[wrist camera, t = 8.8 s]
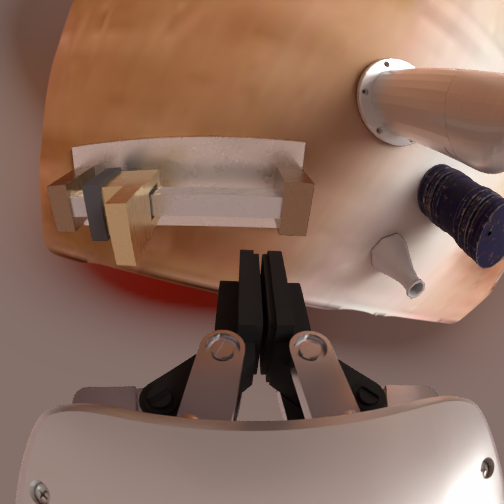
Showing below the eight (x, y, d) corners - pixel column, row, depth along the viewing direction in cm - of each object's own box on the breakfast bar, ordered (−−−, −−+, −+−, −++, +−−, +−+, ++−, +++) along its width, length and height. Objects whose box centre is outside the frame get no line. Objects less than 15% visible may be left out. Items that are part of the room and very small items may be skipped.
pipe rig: (303, 141, 32) (323, 155, 25) (292, 225, 38) (305, 259, 31) (75, 146, 29) (40, 162, 22) (87, 222, 36) (60, 252, 29)
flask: (377, 276, 44) (401, 315, 36) (363, 248, 41) (390, 288, 33) (409, 255, 42) (438, 290, 34) (399, 225, 39) (432, 260, 31)
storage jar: (464, 173, 34) (525, 212, 21) (446, 222, 39) (497, 271, 26) (428, 155, 33) (496, 193, 20) (408, 212, 38) (464, 265, 25)
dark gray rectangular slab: (121, 167, 28) (97, 184, 23) (126, 215, 32) (107, 240, 26) (106, 168, 28) (81, 186, 23) (113, 215, 32) (92, 240, 26)
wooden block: (159, 167, 29) (125, 203, 20) (162, 215, 32) (136, 265, 23) (120, 169, 28) (75, 205, 19) (125, 215, 31) (90, 263, 22)
